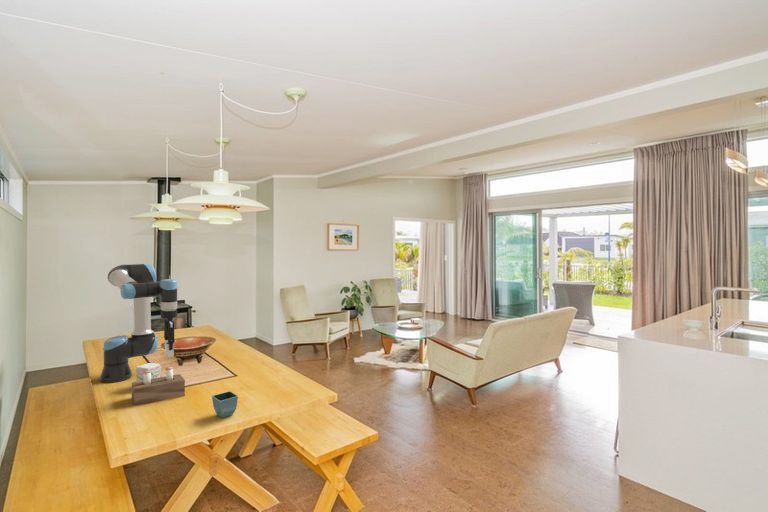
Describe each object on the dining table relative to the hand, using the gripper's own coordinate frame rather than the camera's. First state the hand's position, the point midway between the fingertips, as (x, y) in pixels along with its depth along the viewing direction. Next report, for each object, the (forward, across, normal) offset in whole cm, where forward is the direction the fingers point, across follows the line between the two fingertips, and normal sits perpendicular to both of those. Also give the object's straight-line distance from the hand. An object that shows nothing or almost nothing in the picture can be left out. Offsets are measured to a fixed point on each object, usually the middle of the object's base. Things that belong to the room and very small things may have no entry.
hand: (169, 354), depth 209 cm
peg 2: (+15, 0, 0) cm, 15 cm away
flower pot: (+21, +41, +16) cm, 49 cm away
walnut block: (+21, 0, -5) cm, 22 cm away
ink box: (+21, -19, -7) cm, 29 cm away
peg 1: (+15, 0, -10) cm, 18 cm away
